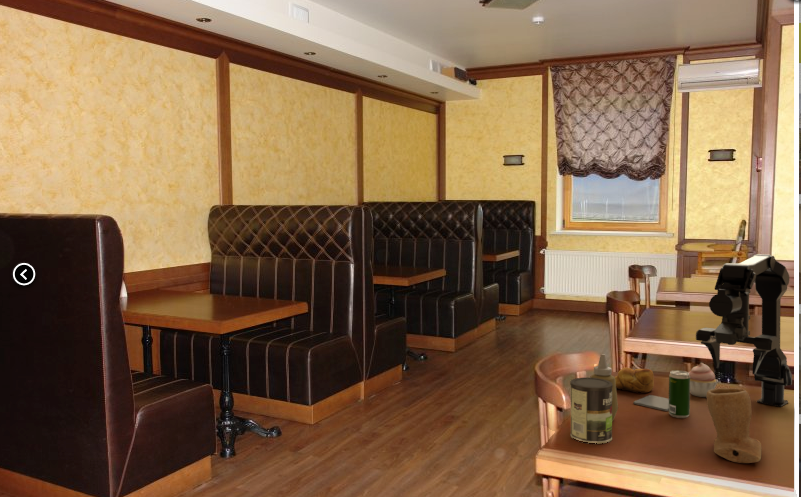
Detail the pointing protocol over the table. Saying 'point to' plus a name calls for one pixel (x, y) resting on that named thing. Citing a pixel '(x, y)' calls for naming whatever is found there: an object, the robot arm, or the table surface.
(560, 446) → the table surface
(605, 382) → the coffee can
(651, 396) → the coaster
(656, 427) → the table surface
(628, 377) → the bread roll
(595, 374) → the squeeze bottle
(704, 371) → the cupcake
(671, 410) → the guarana soda can
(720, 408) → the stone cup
